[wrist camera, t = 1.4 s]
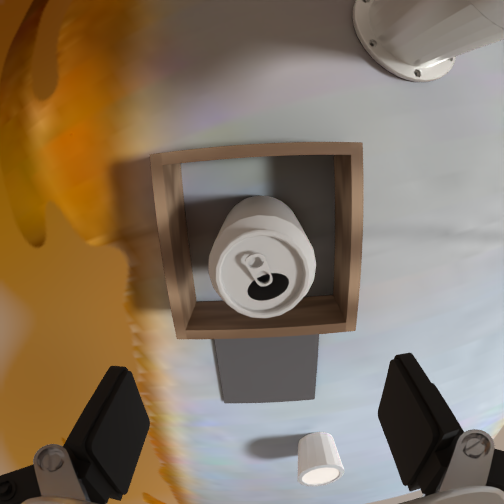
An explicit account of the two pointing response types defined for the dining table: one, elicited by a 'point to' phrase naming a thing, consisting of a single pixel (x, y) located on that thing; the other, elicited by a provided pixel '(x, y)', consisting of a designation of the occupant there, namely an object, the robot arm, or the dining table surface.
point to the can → (262, 259)
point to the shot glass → (318, 460)
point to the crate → (309, 308)
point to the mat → (268, 368)
